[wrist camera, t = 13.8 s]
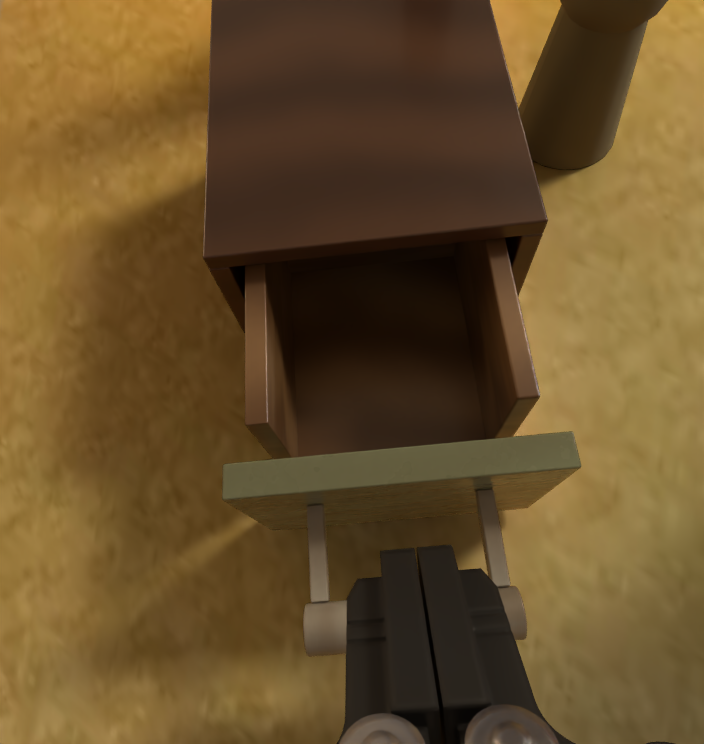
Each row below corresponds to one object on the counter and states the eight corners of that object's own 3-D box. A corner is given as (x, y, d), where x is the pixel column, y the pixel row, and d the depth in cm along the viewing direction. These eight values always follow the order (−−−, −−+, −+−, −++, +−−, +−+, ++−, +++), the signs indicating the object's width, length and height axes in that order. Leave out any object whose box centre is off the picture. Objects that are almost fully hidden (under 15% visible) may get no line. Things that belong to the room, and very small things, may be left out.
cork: (616, 98, 34) (707, -113, 24) (613, 174, 32) (712, -23, 22) (516, 90, 35) (564, -117, 25) (507, 163, 33) (556, -31, 23)
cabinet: (502, 339, 29) (548, 220, 20) (260, 363, 29) (202, 258, 20) (459, 128, 34) (480, -36, 26) (257, 151, 35) (211, -3, 26)
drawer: (551, 627, 23) (623, 637, 15) (274, 650, 23) (218, 670, 16) (477, 252, 30) (503, 141, 23) (267, 275, 30) (226, 172, 23)
